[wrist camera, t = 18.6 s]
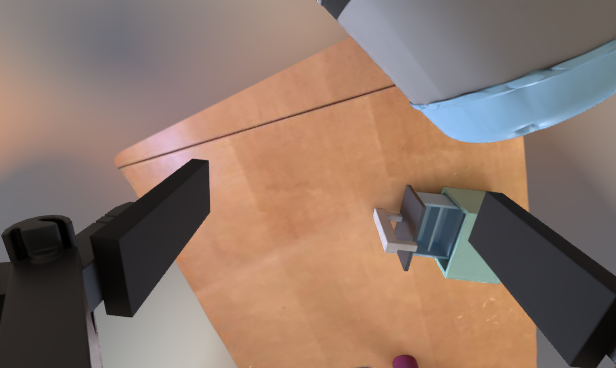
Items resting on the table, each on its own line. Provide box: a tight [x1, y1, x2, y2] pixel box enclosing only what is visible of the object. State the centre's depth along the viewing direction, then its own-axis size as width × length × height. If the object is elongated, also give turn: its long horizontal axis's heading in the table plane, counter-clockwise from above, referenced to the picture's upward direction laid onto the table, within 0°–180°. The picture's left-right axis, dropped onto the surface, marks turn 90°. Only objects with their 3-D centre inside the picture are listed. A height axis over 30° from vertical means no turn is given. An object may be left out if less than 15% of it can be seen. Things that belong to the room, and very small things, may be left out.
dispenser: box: [435, 187, 500, 284], centre depth 45 cm, size 8×11×9 cm
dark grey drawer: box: [373, 185, 465, 271], centre depth 44 cm, size 12×11×10 cm
